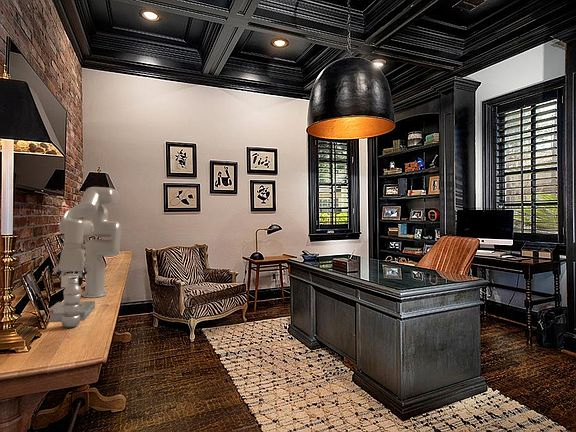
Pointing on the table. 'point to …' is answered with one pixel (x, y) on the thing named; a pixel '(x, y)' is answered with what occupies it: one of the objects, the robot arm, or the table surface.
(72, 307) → the plastic bottle
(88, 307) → the socket
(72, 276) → the plug
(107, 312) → the table surface
